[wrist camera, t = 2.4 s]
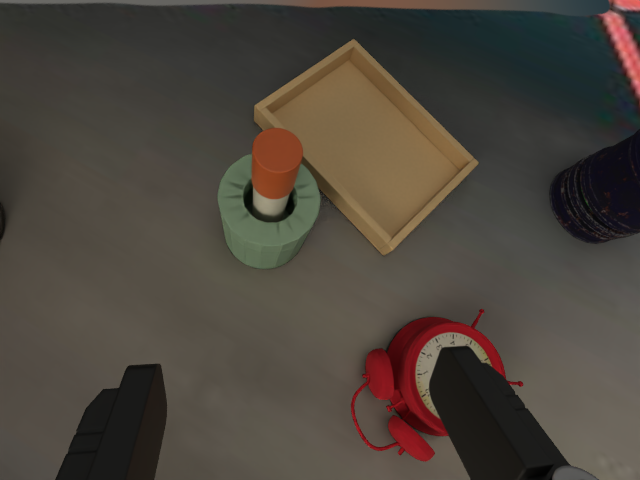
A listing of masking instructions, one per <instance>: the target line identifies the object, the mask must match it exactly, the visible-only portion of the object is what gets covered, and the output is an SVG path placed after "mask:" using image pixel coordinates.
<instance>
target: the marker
mask: <svg viewBox="0 0 640 480" xmlns="http://www.w3.org/2000/svg"><path fill="white" fill-rule="evenodd" d="M302 158H303V147H302V144H301V142H300V140H299V139H298V138H297V137H296V136H295V135H294V134H293V133H292V132H290V131H288V130H286V129H282V128H270V129H266V130H264V131H263V132H261V133H260V134H259V135H258V136H257V137H256V138H255V140H254V142H253V147H252V175H251V180H252V185H253V205H252V216H253V217H255V218H256V219H257V220H260V221H263V222H266V223H270V222H279V221H282V218H283V215H284V211H285V208H286V204H287V201H288V197H289V194H290V192H291V191H292V189H293V187H294V185H295V181H296V178H297V175H298V171H299V168H300V165H301V161H302Z"/></svg>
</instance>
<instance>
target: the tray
mask: <svg viewBox="0 0 640 480" xmlns="http://www.w3.org/2000/svg"><path fill="white" fill-rule="evenodd" d="M254 121H255V122H256V123H257V124H258V125H259V126H260V127H261V128H262V130H263V131H264V130H266V129H270V128H282V129H286V130H288V131H290V132H292V133H293V134H294V135H295V136H296V137H297V138H298V139H299V140H300V142H301V144H302V147H303V158H302V161H301V164H302V165H304V166H305V167H306V168H308V170H309V171H310V173H311V174H312V176H313V177H314V179H315V180H316V183H317V186H318V188H319V189H320V190H321V191H322V192H323V193H324V194H325V195H326V196H327V197H328V198H329V199H330V200H331V202H332V203H333V204H334V205H335V206H336V207H337V208H338V209H339V210H340V211H341V212H342V213H343V214H344V215H345V216H346V217H347V218H348V219H349V220H350V221H351V222H352V223H353V224H354V226H355V227H356V228H357V229H358V230H359V231H360V232H361V233H362V234H363V235H364V236H365V237H366V238H367V239H368V240H369V241H370V242H371V243H372V244H373V245H374V246H375V247H376V248H377V250H378V251H379V252H380V253H381V254H382V255H383V256H384V255H386V254H387V253H389V252H390V251H392V250H393V249H394V248H395V247H396V246H397V245H398V244H399V243H400V242H401V241H402V240H403V239H404V238H405V237H406V236H407V235H408V234H409V233H410V232H411V231H412V230H413V229H414V228H415V227H416V226H417V225H418V224H419V223H420V222H421V221H422V220H423V219H424V218H425V217H426V216H427V215H428V214H429V213H430V212H431V211H432V210H433V209H434V208H435V207H436V206H437V205H438V204H439V203H440V202H441V201H442V200H443V199H444V198H445V197H446V196H447V195H448V194H449V193H450V192H451V191H452V190H453V189H454V188H455V187H456V186H457V185H458V184H459V183H460V182H461V181H462V180H463V179H464V178H465V177H466V176H467V175H468V174H469V173H470V172H471V171H472V170H473V169H474V168H475V167H476V166H477V165H478V164H479V162H478V161H477V160H476V159H475V158H474V157H473V156H472V155H471V154H470V153H469V152H468V151H467V150H466V149H465V148H464V147H463V146H462V145H461V144H460V143H458V142H457V141H456V140H455V139H454V138H453V137H452V136H451V135H450V134H449V133H448V132H447V131H446V130H445V129H444V128H443V127H442V126H441V125H440V124H439V123H438V122H437V121H436V120H435V119H434V118H433V117H432V116H431V115H430V114H429V113H428V112H427V111H426V110H425V109H424V108H423V107H422V106H421V105H420V104H419V103H418V102H417V101H416V100H415V99H414V98H413V97H412V96H411V95H410V94H409V93H408V92H407V91H406V90H405V89H404V88H403V87H402V86H401V85H400V84H399V83H398V82H397V81H396V80H395V79H394V78H393V77H392V76H391V75H390V74H389V73H388V72H387V71H386V70H385V69H384V68H383V67H382V66H381V65H380V64H379V63H378V62H377V61H376V60H375V59H374V58H373V57H372V56H371V55H370V54H369V53H368V52H367V51H366V50H365V49H364V48H363V47H362V46H361V45H360V44H358V43H357V42H356V41H355V40H354V39H353V40H351V41H350V42H348V43H347V44H345V45H344V46H342V47H341V48H339V49H338V50H336V51H335V52H333V53H332V54H330V55H329V56H327V57H326V58H325V59H323V60H322V61H320V62H319V63H317V64H316V65H314V66H313V67H311V68H310V69H308V70H307V71H305V72H304V73H302V74H301V75H299V76H298V77H296V78H295V79H293V80H292V81H290V82H289V83H287V84H286V85H284V86H283V87H281V88H280V89H278V90H277V91H275V92H274V93H272V94H271V95H270V96H268V97H267V98H265V99H264V100H262V101H261V102H259V103H258V104H256V105H255V106H254Z"/></svg>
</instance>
